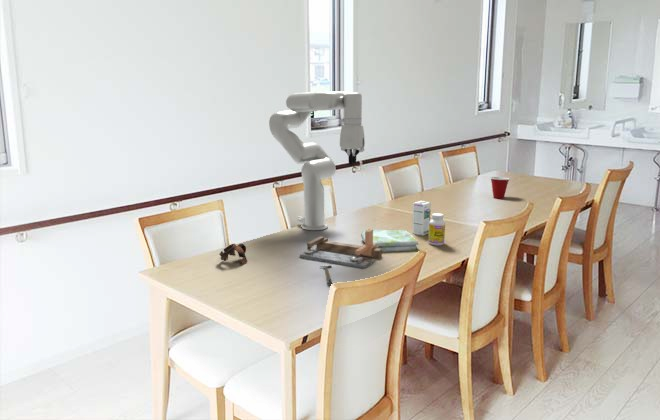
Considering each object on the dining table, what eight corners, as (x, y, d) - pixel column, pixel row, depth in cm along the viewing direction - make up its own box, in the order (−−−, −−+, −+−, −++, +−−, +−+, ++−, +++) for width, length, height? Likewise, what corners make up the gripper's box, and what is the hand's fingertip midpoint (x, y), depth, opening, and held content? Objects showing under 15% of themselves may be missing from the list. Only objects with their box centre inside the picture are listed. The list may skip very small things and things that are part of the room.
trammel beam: (304, 255, 232) (303, 243, 231) (320, 246, 244) (320, 234, 242) (367, 265, 219) (368, 253, 218) (382, 255, 231) (382, 243, 230)
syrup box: (423, 235, 258) (424, 204, 255) (412, 233, 262) (413, 202, 259) (430, 233, 262) (431, 202, 259) (419, 230, 266) (420, 200, 263)
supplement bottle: (432, 246, 243) (433, 216, 240) (425, 242, 249) (426, 213, 246) (447, 245, 245) (448, 215, 241) (440, 240, 251) (441, 212, 248)
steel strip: (299, 257, 229) (299, 252, 228) (309, 252, 236) (309, 246, 235) (364, 268, 216) (364, 262, 216) (372, 262, 223) (373, 256, 223)
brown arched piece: (242, 268, 218) (229, 251, 216) (224, 275, 223) (212, 258, 221) (256, 252, 228) (245, 235, 226) (239, 258, 233) (228, 242, 231)
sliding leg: (351, 260, 222) (351, 237, 220) (367, 250, 234) (367, 228, 232) (361, 262, 220) (361, 238, 218) (376, 252, 233) (376, 229, 230)
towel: (419, 250, 238) (420, 238, 237) (369, 253, 235) (369, 241, 234) (407, 238, 256) (407, 227, 255) (360, 240, 253) (360, 229, 251)
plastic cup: (510, 197, 335) (512, 176, 332) (505, 200, 326) (506, 179, 323) (492, 195, 341) (493, 175, 338) (486, 198, 332) (487, 177, 329)
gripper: (333, 122, 247) (333, 164, 251) (365, 123, 240) (364, 167, 244) (340, 120, 253) (340, 162, 257) (372, 122, 246) (371, 164, 251)
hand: (352, 164), depth 251 cm, fingers closed
